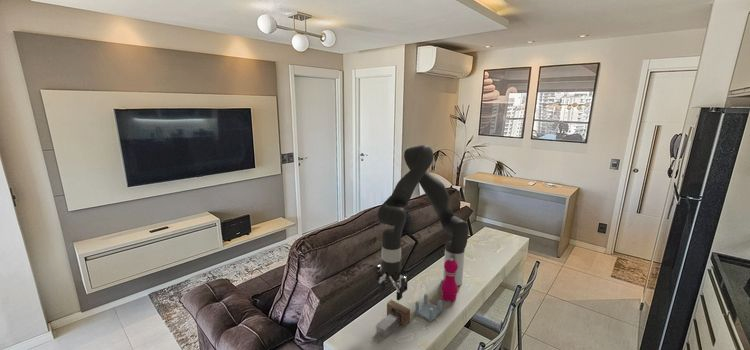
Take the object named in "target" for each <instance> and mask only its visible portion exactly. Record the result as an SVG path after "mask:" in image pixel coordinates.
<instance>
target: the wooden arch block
mask: <svg viewBox="0 0 750 350" xmlns="http://www.w3.org/2000/svg"><path fill="white" fill-rule="evenodd" d="M394 309H395V310H397V311H399V312H401V323H400V325H403V326H404V327H406V326H408V325H409V324H410V323H411V309H410V308H408V307H406V306H404V305H403V304H400V303H399V302H397V301H395V300H393V299H390V300H389V301H388V302H387V303H386V317H387V316H388V315H389V314H390V313H391V312H392V311H393V310H394Z"/></svg>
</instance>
